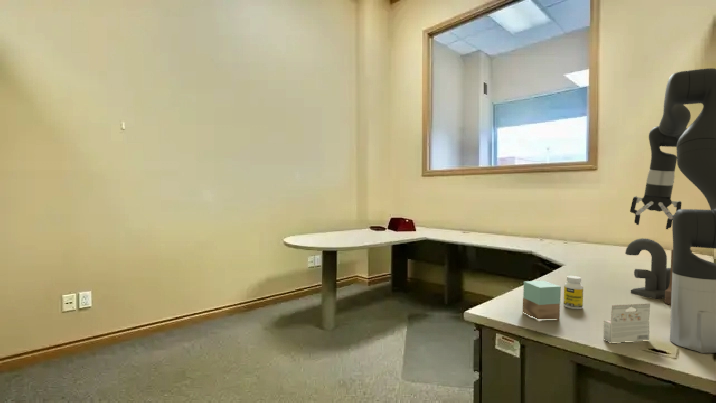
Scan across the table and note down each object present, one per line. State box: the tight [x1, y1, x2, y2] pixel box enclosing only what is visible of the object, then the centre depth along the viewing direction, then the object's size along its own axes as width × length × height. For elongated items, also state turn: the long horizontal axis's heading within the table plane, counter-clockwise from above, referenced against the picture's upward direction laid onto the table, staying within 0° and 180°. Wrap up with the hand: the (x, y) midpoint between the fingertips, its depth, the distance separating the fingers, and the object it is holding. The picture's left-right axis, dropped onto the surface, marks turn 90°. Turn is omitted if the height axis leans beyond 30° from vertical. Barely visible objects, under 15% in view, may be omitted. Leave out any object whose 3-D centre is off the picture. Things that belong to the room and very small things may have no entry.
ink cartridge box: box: [603, 303, 651, 342], centre depth 92 cm, size 2×11×10 cm, turn 99°
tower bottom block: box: [522, 297, 561, 320], centre depth 109 cm, size 7×7×5 cm
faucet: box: [624, 237, 671, 300], centre depth 139 cm, size 18×16×20 cm
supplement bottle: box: [563, 275, 584, 310], centre depth 119 cm, size 5×5×10 cm
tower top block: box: [522, 280, 562, 305], centre depth 109 cm, size 7×7×5 cm
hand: (652, 226), depth 135 cm, fingers open, 8 cm apart
